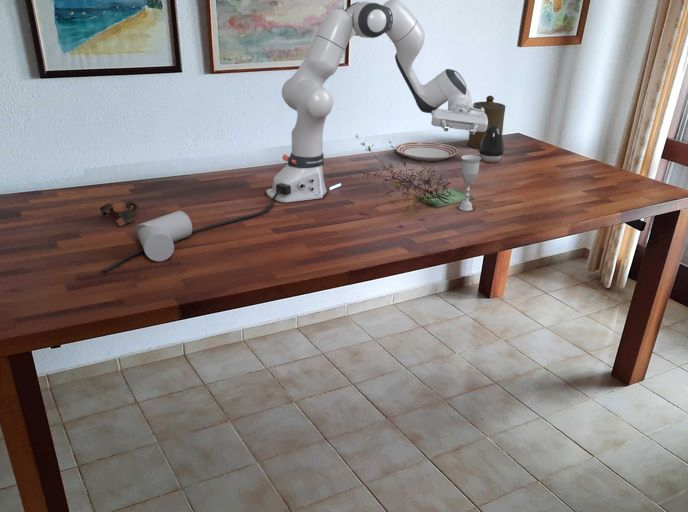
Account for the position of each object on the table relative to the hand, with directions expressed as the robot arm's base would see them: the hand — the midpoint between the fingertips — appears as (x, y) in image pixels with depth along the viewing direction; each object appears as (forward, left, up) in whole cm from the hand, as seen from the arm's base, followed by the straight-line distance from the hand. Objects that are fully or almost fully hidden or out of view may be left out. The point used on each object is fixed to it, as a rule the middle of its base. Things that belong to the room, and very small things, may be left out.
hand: (459, 130), depth 247 cm
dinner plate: (+26, +47, -24) cm, 59 cm away
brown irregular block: (-112, +37, -24) cm, 121 cm away
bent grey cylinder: (-108, +9, -24) cm, 111 cm away
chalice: (-5, -12, -24) cm, 28 cm away
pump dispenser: (+45, +27, -24) cm, 58 cm away
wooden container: (+61, +47, -24) cm, 80 cm away
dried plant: (-33, -11, -24) cm, 42 cm away
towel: (-5, -1, -24) cm, 24 cm away
